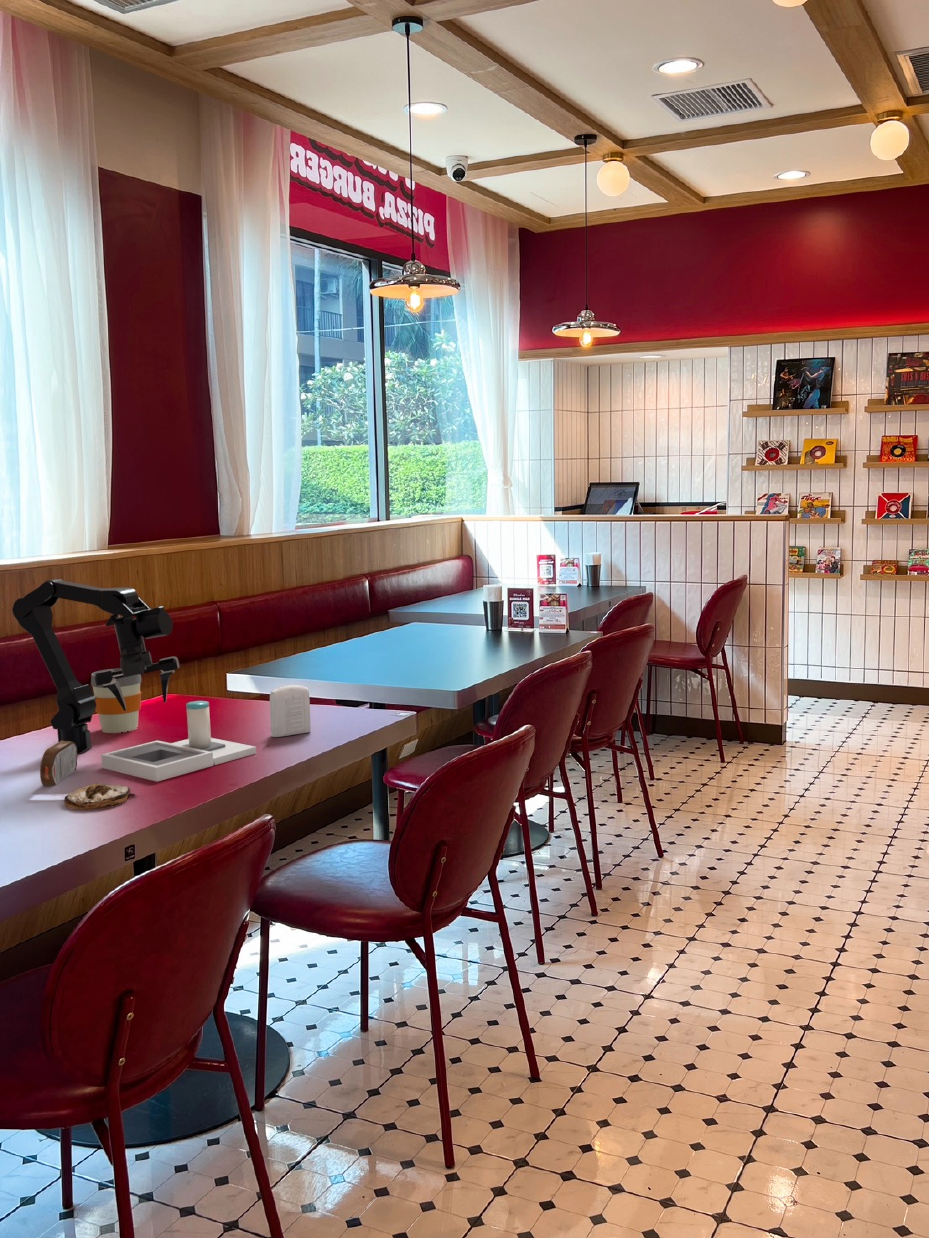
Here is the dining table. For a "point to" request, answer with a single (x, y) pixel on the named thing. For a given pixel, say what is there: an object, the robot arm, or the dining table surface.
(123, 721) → the reusable coffee cup
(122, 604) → the robot arm
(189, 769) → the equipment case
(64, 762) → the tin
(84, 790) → the brown topped flatbread
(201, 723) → the ball
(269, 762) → the dining table surface
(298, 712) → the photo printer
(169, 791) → the dining table surface
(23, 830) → the dining table surface
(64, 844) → the dining table surface
